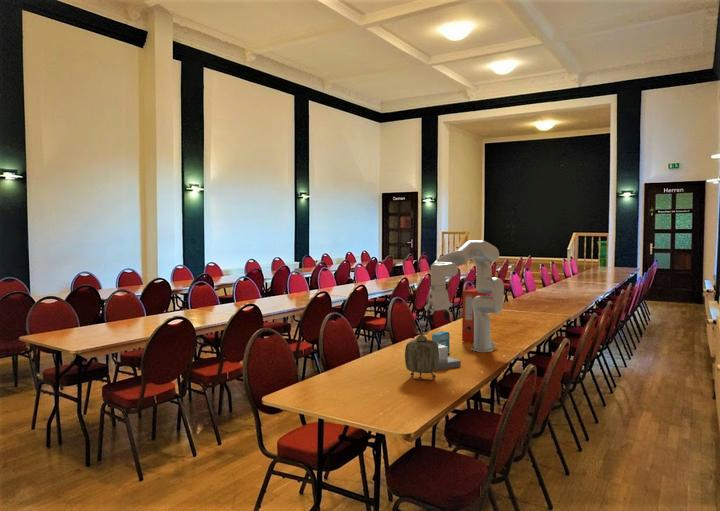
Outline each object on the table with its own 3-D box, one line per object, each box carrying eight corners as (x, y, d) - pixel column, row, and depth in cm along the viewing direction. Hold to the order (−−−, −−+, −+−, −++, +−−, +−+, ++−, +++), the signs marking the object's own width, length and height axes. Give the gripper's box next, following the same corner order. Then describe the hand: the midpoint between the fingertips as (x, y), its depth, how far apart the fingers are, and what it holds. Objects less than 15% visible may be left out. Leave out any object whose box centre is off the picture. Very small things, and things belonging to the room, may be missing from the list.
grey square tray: (441, 359, 282) (441, 354, 282) (460, 366, 268) (460, 360, 267) (416, 363, 274) (416, 357, 274) (435, 370, 260) (435, 364, 260)
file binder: (486, 338, 334) (486, 288, 333) (474, 343, 321) (474, 291, 319) (474, 337, 339) (474, 288, 338) (462, 341, 326) (462, 290, 324)
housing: (447, 360, 268) (447, 344, 268) (439, 361, 266) (439, 345, 265) (437, 356, 276) (437, 341, 276) (429, 357, 274) (429, 342, 273)
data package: (438, 356, 289) (438, 335, 288) (431, 355, 292) (431, 334, 291) (449, 352, 298) (449, 331, 298) (442, 351, 301) (442, 330, 301)
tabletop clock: (438, 377, 247) (438, 325, 246) (433, 383, 239) (433, 328, 238) (409, 374, 253) (409, 323, 252) (403, 379, 245) (403, 326, 244)
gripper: (429, 290, 262) (429, 324, 263) (456, 287, 270) (456, 319, 271) (420, 288, 268) (421, 321, 269) (447, 285, 276) (447, 317, 278)
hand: (439, 320), depth 270 cm, fingers open, 9 cm apart
